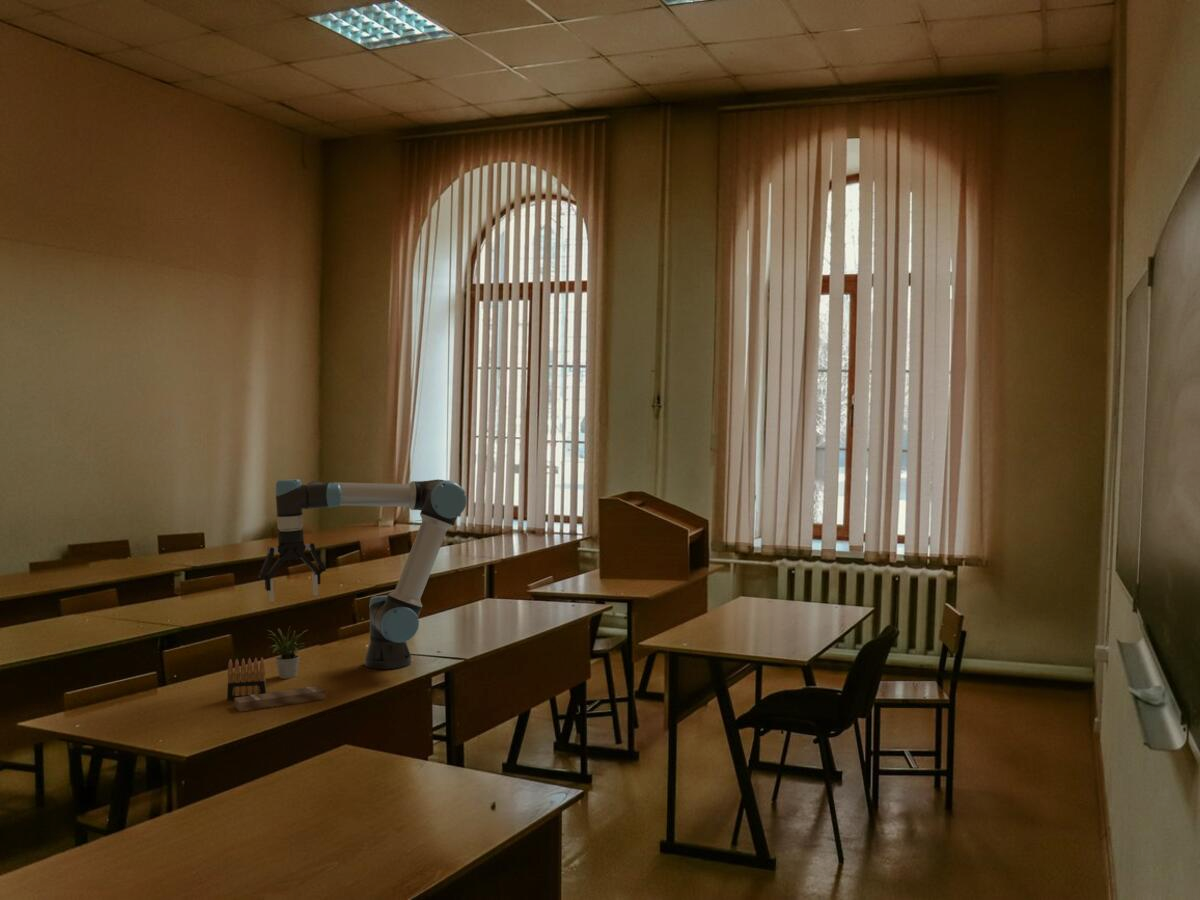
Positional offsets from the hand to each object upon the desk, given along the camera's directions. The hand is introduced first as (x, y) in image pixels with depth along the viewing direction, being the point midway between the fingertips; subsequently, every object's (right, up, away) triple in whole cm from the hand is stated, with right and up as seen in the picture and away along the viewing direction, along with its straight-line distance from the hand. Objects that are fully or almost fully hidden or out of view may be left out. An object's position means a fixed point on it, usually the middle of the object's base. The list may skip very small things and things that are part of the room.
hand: (293, 598), depth 316 cm
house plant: (-6, -27, +9) cm, 29 cm away
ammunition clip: (-9, -27, -17) cm, 33 cm away
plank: (+2, -27, -22) cm, 35 cm away
